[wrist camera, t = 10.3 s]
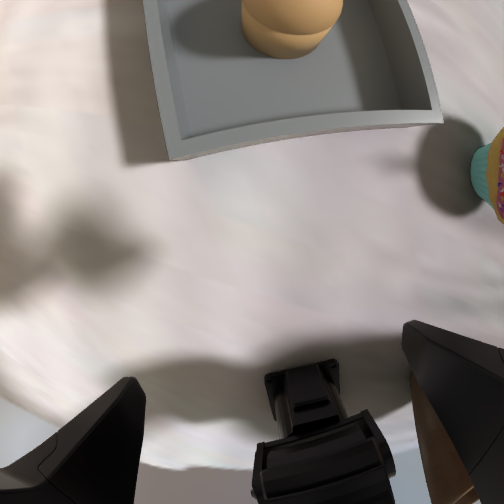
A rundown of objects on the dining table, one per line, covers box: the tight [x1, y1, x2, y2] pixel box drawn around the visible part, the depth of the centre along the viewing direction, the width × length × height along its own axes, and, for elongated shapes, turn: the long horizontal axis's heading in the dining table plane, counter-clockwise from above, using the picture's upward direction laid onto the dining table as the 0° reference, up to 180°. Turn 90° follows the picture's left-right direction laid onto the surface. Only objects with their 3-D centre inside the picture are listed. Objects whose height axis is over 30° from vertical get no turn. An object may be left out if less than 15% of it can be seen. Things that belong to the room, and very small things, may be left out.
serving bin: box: [143, 0, 444, 160], centre depth 13 cm, size 16×16×4 cm
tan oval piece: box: [241, 0, 343, 59], centre depth 11 cm, size 5×5×7 cm
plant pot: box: [410, 373, 479, 504], centre depth 17 cm, size 15×15×16 cm
